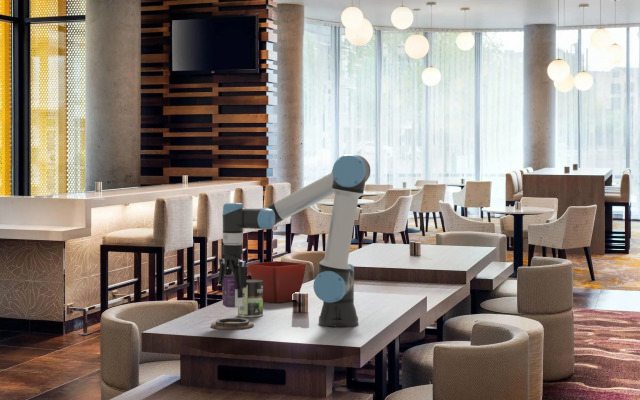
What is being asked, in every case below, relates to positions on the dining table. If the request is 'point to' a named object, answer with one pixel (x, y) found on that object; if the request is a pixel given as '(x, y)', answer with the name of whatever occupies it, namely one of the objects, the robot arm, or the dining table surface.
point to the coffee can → (252, 299)
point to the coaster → (232, 324)
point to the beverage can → (229, 290)
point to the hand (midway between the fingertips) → (232, 305)
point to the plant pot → (278, 279)
